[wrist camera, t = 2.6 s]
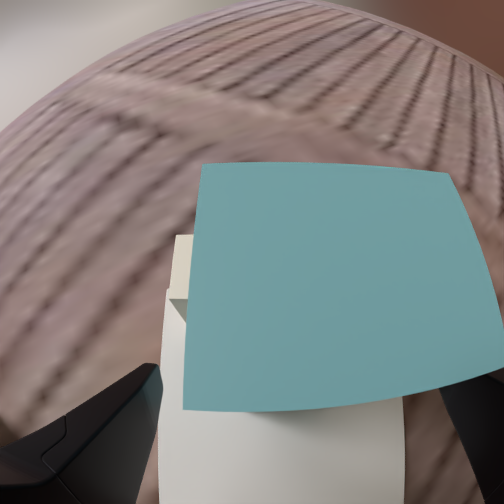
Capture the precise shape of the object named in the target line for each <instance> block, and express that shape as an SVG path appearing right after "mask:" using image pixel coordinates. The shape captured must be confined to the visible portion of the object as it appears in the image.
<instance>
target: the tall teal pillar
mask: <svg viewBox="0 0 504 504" xmlns="http://www.w3.org/2000/svg"><path fill="white" fill-rule="evenodd" d="M503 367H504V328H503V324H502V319H501V315H500V310H499V306H498V302H497V299H496V295H495V291H494V288H493V284H492V281H491V277H490V274H489V271H488V268H487V265H486V262H485V259H484V256H483V253H482V250H481V247H480V245H479V242H478V239H477V237H476V234H475V231H474V229H473V226H472V224H471V222H470V219H469V217H468V214H467V212H466V210H465V207H464V205H463V203H462V201H461V199H460V196H459V194H458V192H457V190H456V188H455V186H454V184H453V182H452V180H451V178H450V176H449V174H448V173H440V172H432V171H424V170H415V169H405V168H394V167H382V166H369V165H353V164H334V163H303V162H244V163H213V164H202V171H201V178H200V186H199V194H198V202H197V210H196V219H195V227H194V237H193V246H192V257H191V267H190V279H189V291H188V304H187V319H186V335H185V354H184V378H183V410H193V411H214V412H272V411H293V410H307V409H319V408H329V407H338V406H346V405H353V404H361V403H367V402H373V401H379V400H385V399H390V398H396V397H401V396H406V395H410V394H415V393H419V392H423V391H428V390H432V389H436V388H440V387H443V386H447V385H451V384H454V383H458V382H461V381H464V380H468V379H471V378H474V377H477V376H480V375H483V374H486V373H489V372H492V371H495V370H498V369H500V368H503Z"/></svg>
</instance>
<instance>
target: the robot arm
mask: <svg viewBox="0 0 504 504" xmlns="http://www.w3.org/2000/svg"><path fill="white" fill-rule="evenodd" d="M439 390H440V393H441V396H442V398H443V401H444V404H445V407H446V409H447V411H448V413H449V416H450V418H451V420H452V422H453V424H454V426H455V429H456V431H457V433H458V435H459V438H460V440H461V442H462V444H463V447H464V449H465V452H466V454H467V456H468V459H469V461H470V464H471V466H472V469H473V471H474V474H475V476H476V479H477V482H478V484H479V487H480V490H481V493H482V496H483V499H484V500H485V501H484V502H485V504H504V367H503V368H500V369H498V370H495V371H492V372H489V373H486V374H483V375H480V376H477V377H474V378H471V379H468V380H464V381H461V382H458V383H454V384H451V385H447V386H443V387H440V388H439ZM162 396H163V382H162V377H161V373H160V368H159V366H158V365H157V364H154V363H144V364H142V365H141V366H139V367H138V368H136V369H135V370H133V371H132V372H130V373H129V374H127V375H126V376H124V377H123V378H121V379H120V380H118V381H117V382H115V383H113V384H112V385H110V386H109V387H107V388H106V389H104V390H103V391H101V392H100V393H98V394H97V395H95V396H93V397H92V398H90V399H89V400H87V401H86V402H84V403H82V404H81V405H79V406H78V407H76V408H75V409H73V410H71V411H70V412H68V413H67V414H66V416H65V415H63V416H62V417H60V418H58V419H57V420H55V421H53V422H52V423H50V424H48V425H47V426H45V427H43V428H41V429H39V430H37V431H35V432H33V433H31V434H29V435H27V436H25V437H23V438H21V439H19V440H17V441H14V442H12V443H10V444H8V445H6V446H3V447H1V448H0V504H136V500H137V497H138V493H139V489H140V486H141V482H142V479H143V475H144V472H145V468H146V465H147V462H148V458H149V455H150V451H151V448H152V445H153V441H154V438H155V434H156V430H157V425H158V419H159V413H160V407H161V401H162Z"/></svg>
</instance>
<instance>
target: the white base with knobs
mask: <svg viewBox="0 0 504 504" xmlns="http://www.w3.org/2000/svg"><path fill="white" fill-rule="evenodd" d="M193 237H194V235H176V240H175V248H174V255H173V263H172V272H171V280H170V289H167V294H166V303H165V314H164V325H163V337H162V350H161V366H160V373H161V377H162V382H163V396H162V401H161V407H160V413H159V419H158V475H159V501H160V504H404V483H405V439H404V416H403V401H402V396H401V397H396V398H390V399H385V400H379V401H373V402H367V403H361V404H353V405H346V406H338V407H329V408H319V409H307V410H293V411H272V412H214V411H193V410H183V378H184V354H185V335H186V319H187V304H188V291H189V279H190V267H191V257H192V246H193Z"/></svg>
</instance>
